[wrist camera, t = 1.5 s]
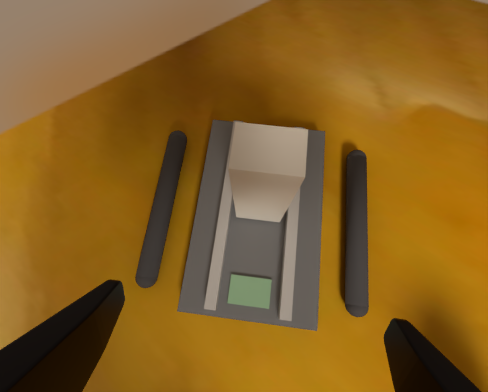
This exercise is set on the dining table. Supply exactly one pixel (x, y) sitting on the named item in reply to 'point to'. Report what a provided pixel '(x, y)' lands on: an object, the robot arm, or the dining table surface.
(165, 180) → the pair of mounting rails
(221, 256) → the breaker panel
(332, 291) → the dining table surface
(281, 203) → the handle
